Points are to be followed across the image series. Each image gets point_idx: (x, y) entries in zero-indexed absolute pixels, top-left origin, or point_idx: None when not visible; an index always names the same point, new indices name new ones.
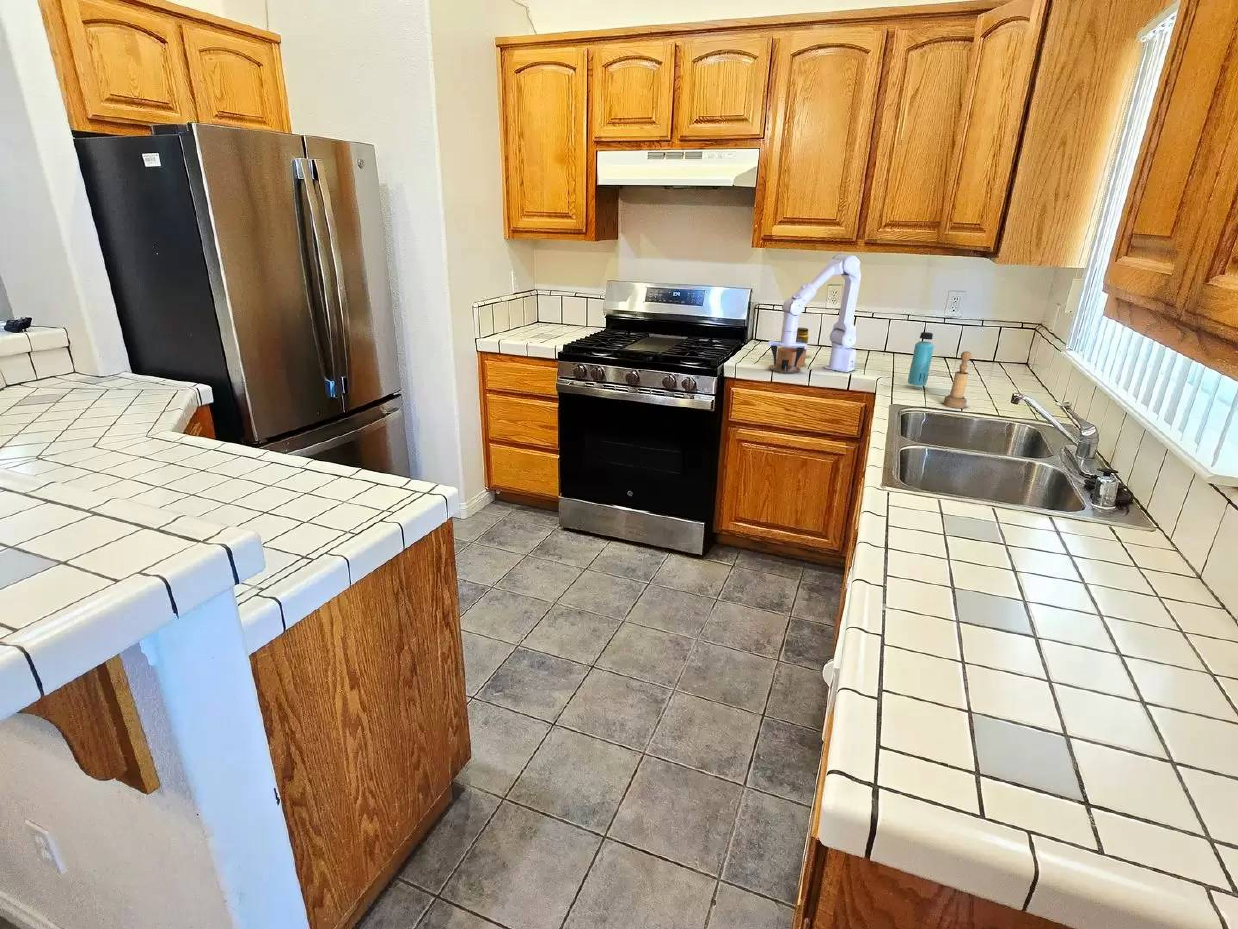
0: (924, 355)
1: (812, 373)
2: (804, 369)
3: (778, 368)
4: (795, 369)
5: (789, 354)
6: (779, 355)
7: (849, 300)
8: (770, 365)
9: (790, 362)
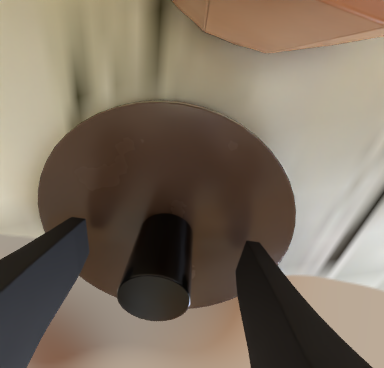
0: None
1: (355, 253)
2: (361, 146)
3: (120, 261)
4: None
5: (269, 16)
6: None
7: None
8: (47, 185)
9: (264, 48)
